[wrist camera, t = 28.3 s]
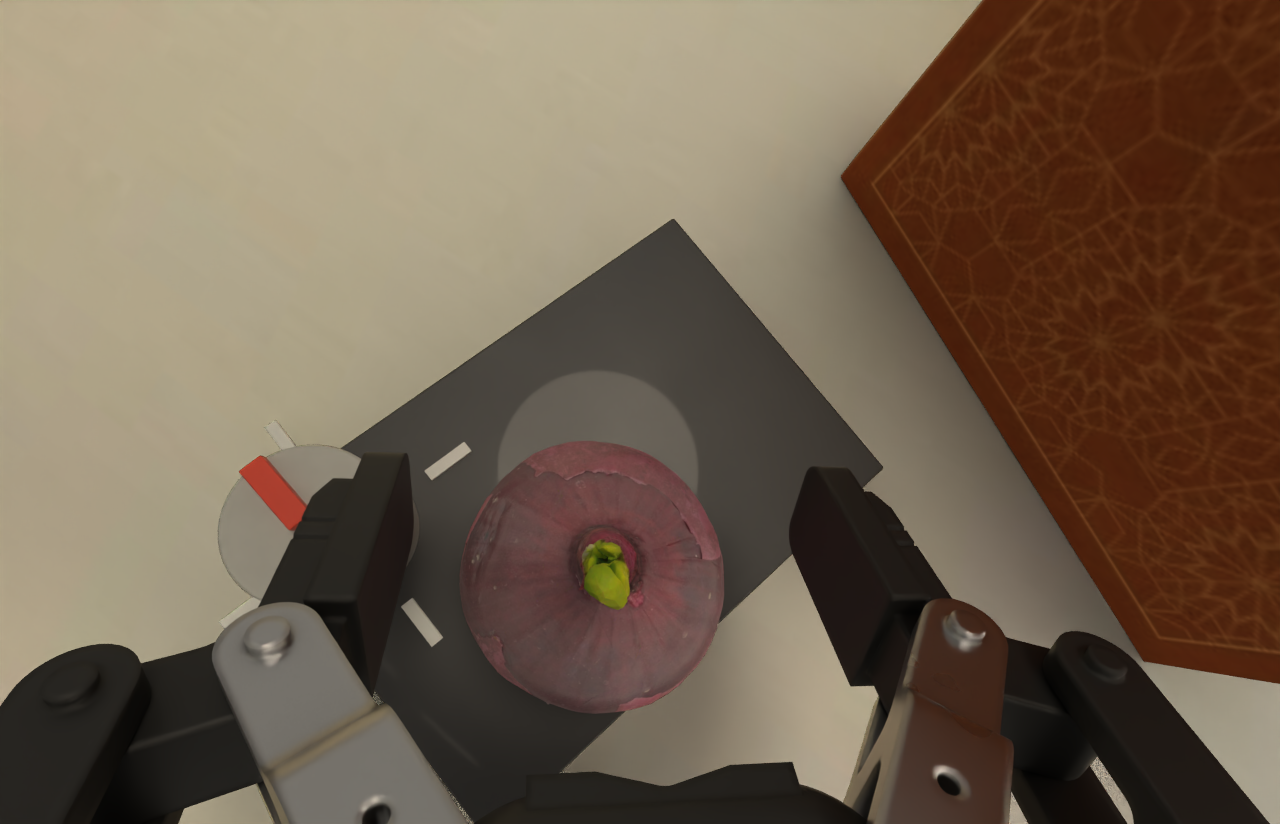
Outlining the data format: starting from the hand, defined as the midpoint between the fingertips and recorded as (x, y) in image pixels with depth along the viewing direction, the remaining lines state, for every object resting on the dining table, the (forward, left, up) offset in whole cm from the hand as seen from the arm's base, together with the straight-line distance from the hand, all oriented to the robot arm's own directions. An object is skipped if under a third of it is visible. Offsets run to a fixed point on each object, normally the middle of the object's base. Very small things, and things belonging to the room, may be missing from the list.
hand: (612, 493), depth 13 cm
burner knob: (-5, +4, -7) cm, 9 cm away
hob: (0, +1, -9) cm, 9 cm away
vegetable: (-1, -1, -7) cm, 7 cm away
